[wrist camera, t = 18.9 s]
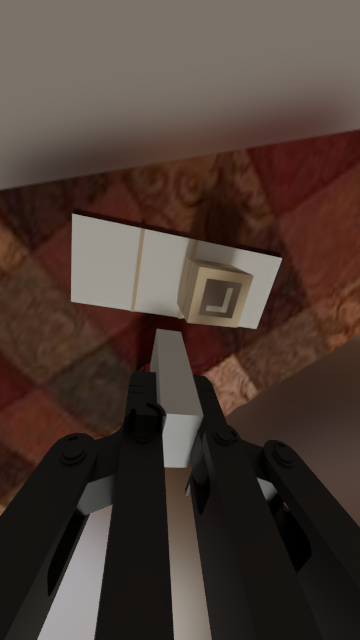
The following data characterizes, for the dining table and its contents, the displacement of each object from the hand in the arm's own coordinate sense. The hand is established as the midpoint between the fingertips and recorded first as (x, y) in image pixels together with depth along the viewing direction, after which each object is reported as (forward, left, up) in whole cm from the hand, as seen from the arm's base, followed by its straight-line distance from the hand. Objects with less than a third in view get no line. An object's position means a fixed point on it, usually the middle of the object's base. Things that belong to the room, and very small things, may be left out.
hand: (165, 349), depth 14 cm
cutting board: (+3, 0, -21) cm, 21 cm away
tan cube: (+7, 0, -13) cm, 15 cm away
